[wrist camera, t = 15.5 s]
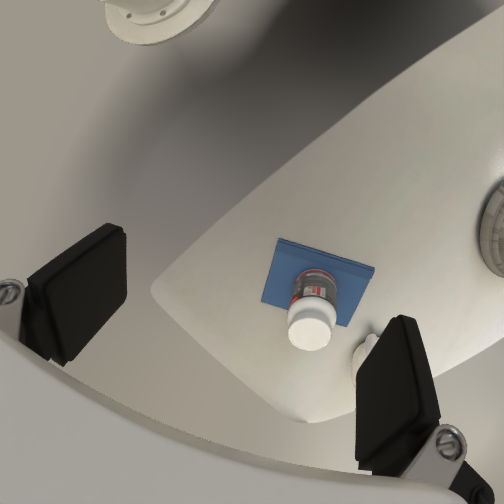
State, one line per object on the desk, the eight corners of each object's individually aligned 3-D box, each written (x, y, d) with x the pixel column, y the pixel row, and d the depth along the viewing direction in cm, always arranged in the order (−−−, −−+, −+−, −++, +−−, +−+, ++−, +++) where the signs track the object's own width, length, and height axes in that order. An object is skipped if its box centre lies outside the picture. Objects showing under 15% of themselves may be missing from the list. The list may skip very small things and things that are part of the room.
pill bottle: (293, 267, 39) (282, 312, 30) (337, 267, 37) (338, 313, 29) (294, 303, 41) (284, 352, 33) (335, 304, 40) (334, 354, 31)
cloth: (261, 300, 43) (260, 302, 42) (279, 238, 38) (278, 240, 37) (346, 325, 41) (346, 328, 41) (374, 267, 37) (375, 270, 36)
